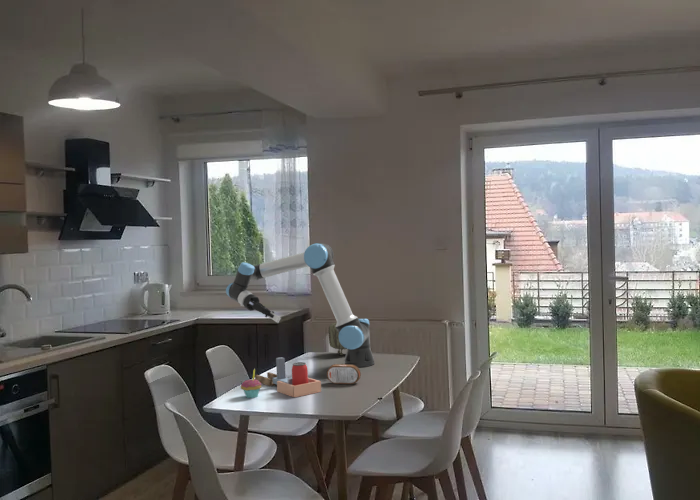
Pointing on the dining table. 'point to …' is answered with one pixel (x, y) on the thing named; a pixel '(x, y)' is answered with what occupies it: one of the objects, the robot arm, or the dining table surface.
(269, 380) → the launcher rail
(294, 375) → the beer can
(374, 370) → the dining table surface
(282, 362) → the grey post stand
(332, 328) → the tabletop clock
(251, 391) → the cupcake
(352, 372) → the tin
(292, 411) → the dining table surface
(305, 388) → the cup corral
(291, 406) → the dining table surface
